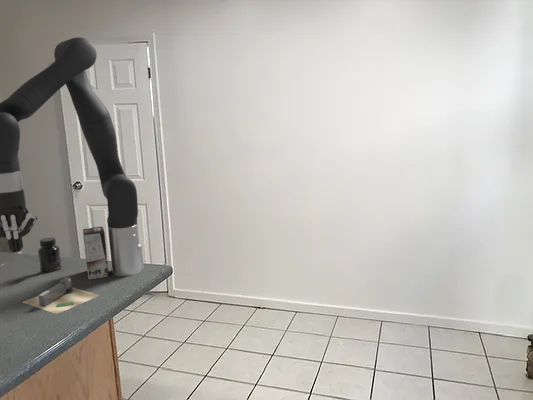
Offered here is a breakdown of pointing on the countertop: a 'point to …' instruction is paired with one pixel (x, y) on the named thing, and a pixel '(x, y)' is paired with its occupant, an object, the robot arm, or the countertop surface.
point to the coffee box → (95, 252)
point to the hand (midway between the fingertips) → (16, 251)
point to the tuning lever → (55, 291)
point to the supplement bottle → (49, 256)
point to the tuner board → (63, 301)
